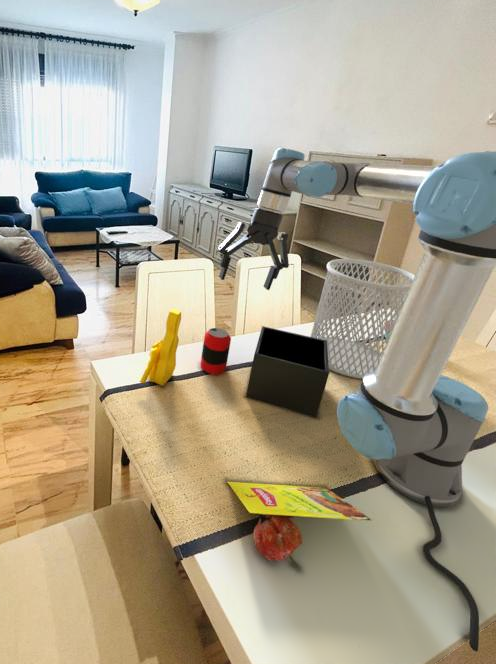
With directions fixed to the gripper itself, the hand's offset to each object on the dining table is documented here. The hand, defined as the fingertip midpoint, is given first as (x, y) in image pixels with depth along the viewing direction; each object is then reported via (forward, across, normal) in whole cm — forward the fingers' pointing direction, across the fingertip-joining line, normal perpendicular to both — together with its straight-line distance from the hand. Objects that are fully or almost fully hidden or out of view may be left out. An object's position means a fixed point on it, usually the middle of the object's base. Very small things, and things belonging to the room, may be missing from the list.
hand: (243, 283), depth 109 cm
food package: (+23, -12, +51) cm, 57 cm away
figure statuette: (+30, +17, +9) cm, 36 cm away
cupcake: (+14, -68, -19) cm, 72 cm away
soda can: (+27, +1, +2) cm, 27 cm away
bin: (+24, -16, +12) cm, 31 cm away
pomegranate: (+30, +2, +57) cm, 64 cm away
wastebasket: (+19, -44, -6) cm, 48 cm away
